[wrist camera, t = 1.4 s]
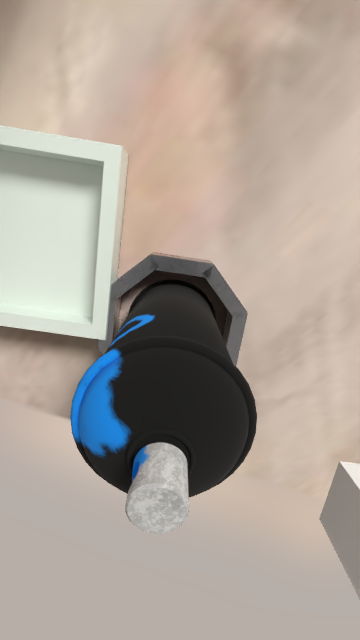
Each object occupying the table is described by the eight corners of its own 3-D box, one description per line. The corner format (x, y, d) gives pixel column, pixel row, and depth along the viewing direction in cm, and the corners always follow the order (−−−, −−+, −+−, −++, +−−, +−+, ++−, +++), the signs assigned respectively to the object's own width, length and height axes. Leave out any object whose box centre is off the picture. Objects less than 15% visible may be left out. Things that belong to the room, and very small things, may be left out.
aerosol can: (227, 294, 28) (338, 433, 8) (200, 372, 30) (238, 625, 10) (141, 268, 27) (44, 354, 8) (119, 349, 29) (2, 576, 10)
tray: (-60, 124, 24) (-93, 109, 21) (128, 156, 24) (121, 145, 21) (-49, 306, 28) (-75, 315, 25) (112, 329, 28) (105, 340, 26)
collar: (112, 246, 26) (105, 247, 24) (250, 267, 27) (257, 270, 24) (101, 372, 30) (94, 385, 27) (224, 389, 30) (227, 402, 28)
